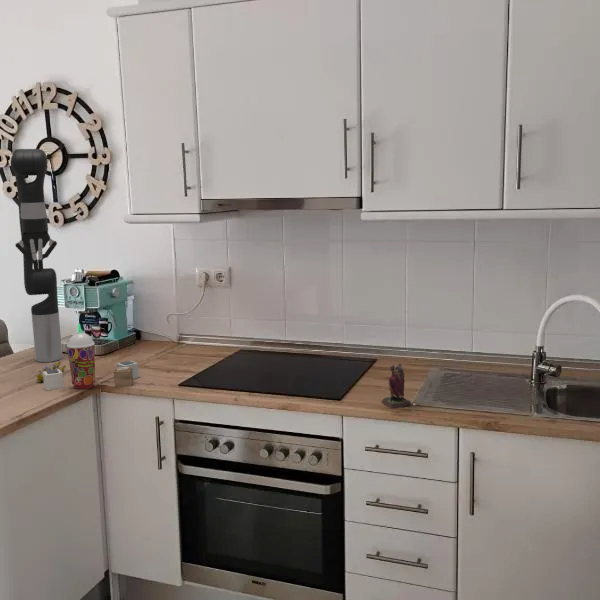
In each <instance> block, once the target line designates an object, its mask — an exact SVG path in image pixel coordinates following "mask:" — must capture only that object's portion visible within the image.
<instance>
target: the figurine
mask: <svg viewBox="0 0 600 600" xmlns="http://www.w3.org/2000/svg"><path fill="white" fill-rule="evenodd" d="M402 367H403V366H402V364H401V363H398V364H397V365H396V366H395V365H394V364H392V365H390V367H389V370H390V372H391V375H390V374H389V375H388V386H389V393H390V394H389V395H390V397H389V396H387V397H384V398H382V400H381V403H382V404H383V405H385V406H387V407H388V408H389V409H391V410H392V409H401V408H404V407H406V406H409V405H410V406H411V405H412V403H411V401H410V400H408V399H407V398H405V372H404V369H403V368H402Z"/></svg>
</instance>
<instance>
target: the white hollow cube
mask: <svg viewBox="0 0 600 600" xmlns="http://www.w3.org/2000/svg"><path fill="white" fill-rule="evenodd" d="M63 375H64V374H63V372H61V371H60V370H59V369H57V368H56V370H49V371H44V372H43V381H44V382H43V381H42V382H43V387H44V389H45V390H46V392H47V391H53V390H59V389H60V390H61V389H64V376H63Z"/></svg>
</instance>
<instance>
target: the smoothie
mask: <svg viewBox="0 0 600 600" xmlns="http://www.w3.org/2000/svg"><path fill="white" fill-rule="evenodd" d="M77 327H78V332H76V333H75V334H73V335H72V336H71V337H70V338H69V340H68V342H67V344H66V349H67V355H68V362H69V368H70V369H69V370H70V376H71V382H72V385H74V388H76V389H80V390H82V389H90V388H92V387H93V386H94V384H95V383H96V363H95V361H96V358H95V356H96V355H95V354H96V353H95V350H96V349H95V341H94V339H93V338H92V337H91V336H90V334H88V333H85V332H82V328H81V324H80V323H78V325H77Z"/></svg>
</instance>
